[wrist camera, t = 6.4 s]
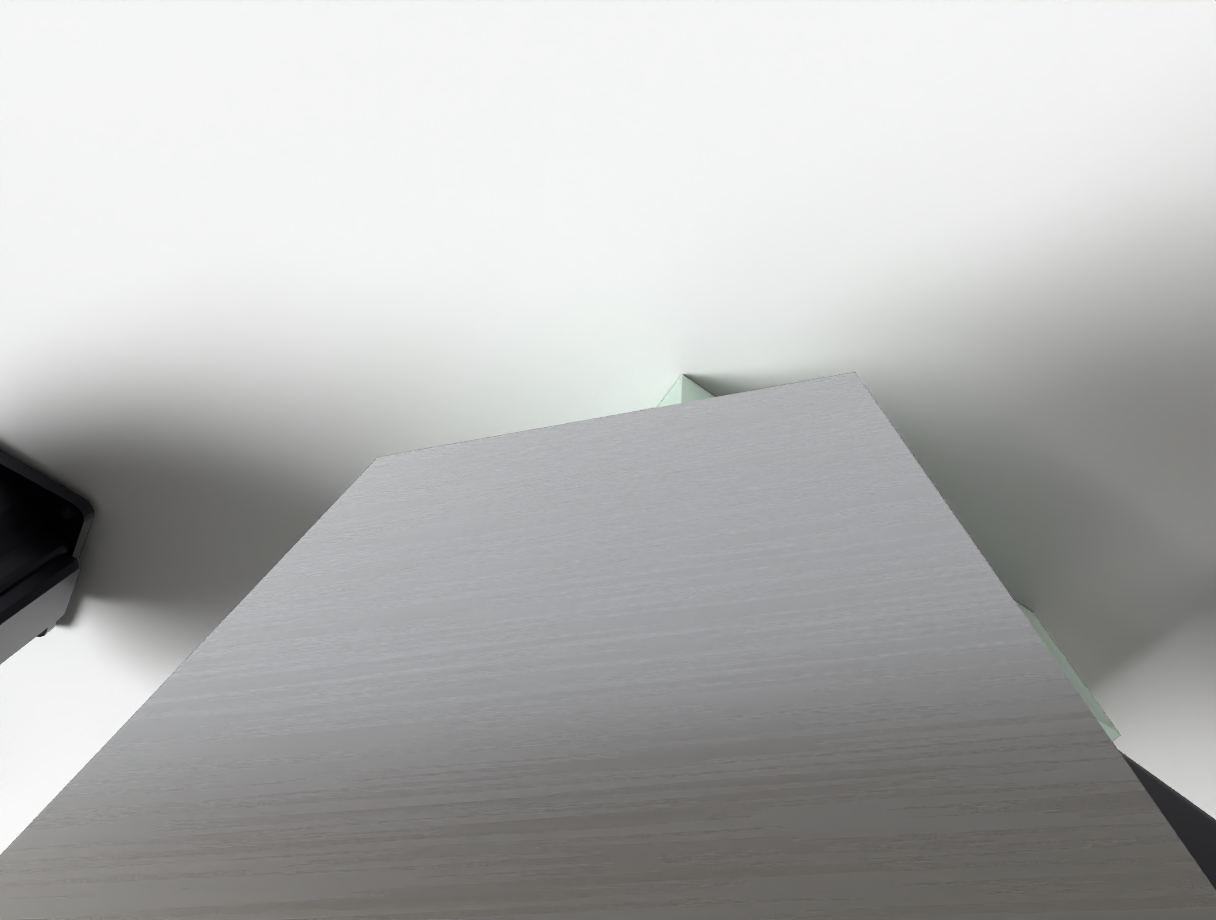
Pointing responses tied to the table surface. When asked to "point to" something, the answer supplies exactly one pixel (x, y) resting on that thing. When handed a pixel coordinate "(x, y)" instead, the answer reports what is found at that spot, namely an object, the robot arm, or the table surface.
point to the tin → (620, 704)
